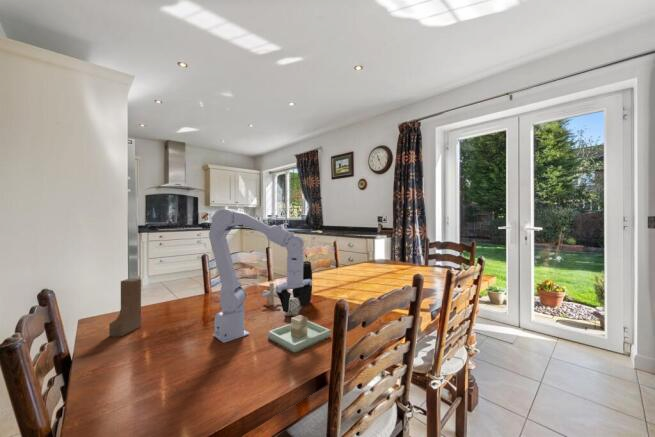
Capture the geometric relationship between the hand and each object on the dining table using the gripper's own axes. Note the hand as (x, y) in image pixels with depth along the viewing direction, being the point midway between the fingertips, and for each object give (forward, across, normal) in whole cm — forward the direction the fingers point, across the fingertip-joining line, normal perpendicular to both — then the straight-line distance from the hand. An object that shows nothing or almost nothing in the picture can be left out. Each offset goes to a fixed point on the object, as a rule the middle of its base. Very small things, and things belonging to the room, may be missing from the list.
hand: (294, 308), depth 97 cm
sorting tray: (+9, 0, -3) cm, 10 cm away
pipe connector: (+10, +13, +33) cm, 37 cm away
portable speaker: (+10, +25, +26) cm, 37 cm away
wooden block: (+10, -41, +44) cm, 61 cm away
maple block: (+9, 0, -2) cm, 9 cm away
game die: (+10, +11, +15) cm, 21 cm away
